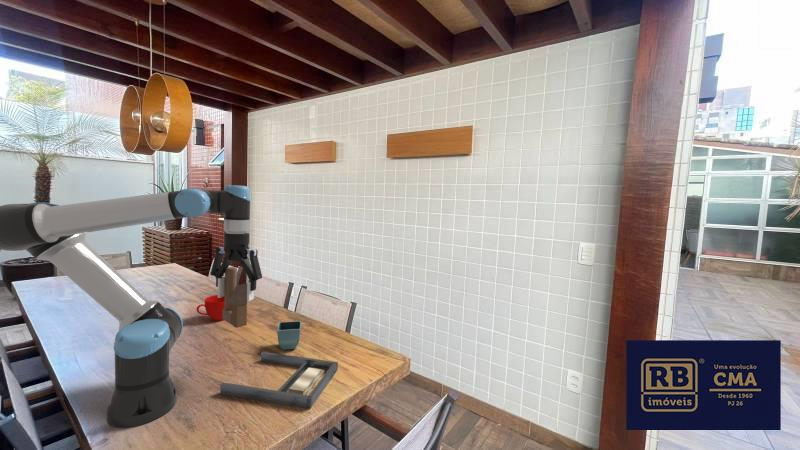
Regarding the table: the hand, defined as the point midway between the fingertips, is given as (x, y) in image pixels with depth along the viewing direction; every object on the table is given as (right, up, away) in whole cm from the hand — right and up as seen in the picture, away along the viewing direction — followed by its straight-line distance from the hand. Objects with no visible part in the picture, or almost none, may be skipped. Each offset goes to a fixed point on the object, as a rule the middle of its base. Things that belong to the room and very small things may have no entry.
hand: (235, 298), depth 109 cm
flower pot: (+10, -25, +22) cm, 35 cm away
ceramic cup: (-33, -21, +47) cm, 61 cm away
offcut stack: (+25, -28, -3) cm, 37 cm away
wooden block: (-1, -8, +1) cm, 9 cm away
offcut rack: (+17, -27, -2) cm, 32 cm away
